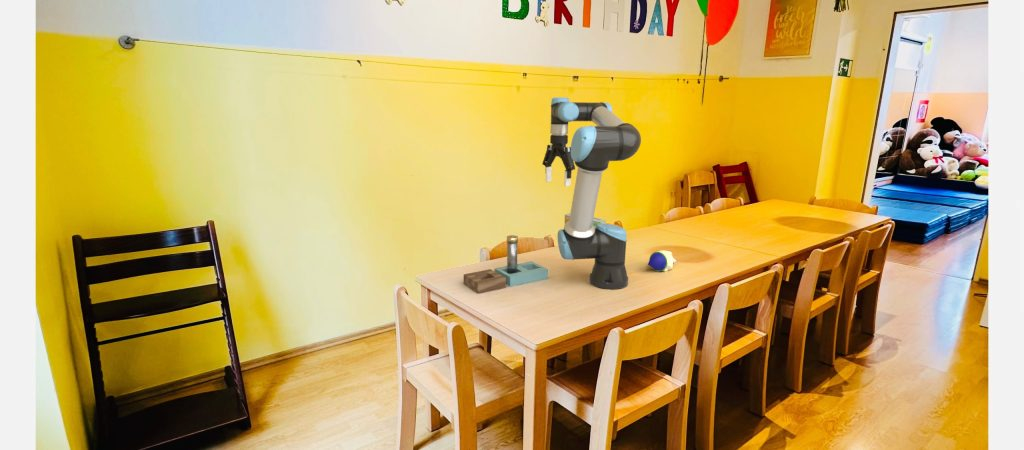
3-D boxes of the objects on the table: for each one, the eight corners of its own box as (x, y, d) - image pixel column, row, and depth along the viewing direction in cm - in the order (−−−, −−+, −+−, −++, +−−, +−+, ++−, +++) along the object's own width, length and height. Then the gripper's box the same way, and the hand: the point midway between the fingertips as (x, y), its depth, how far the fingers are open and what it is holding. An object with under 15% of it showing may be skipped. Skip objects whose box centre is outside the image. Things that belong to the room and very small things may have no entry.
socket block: (505, 287, 191) (505, 277, 190) (478, 293, 185) (478, 283, 184) (490, 278, 201) (490, 269, 200) (463, 283, 195) (463, 274, 194)
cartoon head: (676, 272, 219) (651, 281, 206) (660, 257, 224) (635, 264, 211) (687, 258, 214) (662, 266, 201) (671, 243, 219) (646, 250, 206)
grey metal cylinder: (519, 280, 199) (520, 237, 195) (510, 282, 197) (510, 238, 193) (513, 277, 203) (514, 234, 198) (504, 279, 200) (504, 236, 196)
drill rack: (548, 278, 202) (548, 269, 201) (510, 286, 192) (510, 277, 192) (531, 270, 212) (531, 261, 211) (494, 277, 202) (494, 268, 201)
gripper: (584, 136, 205) (582, 187, 210) (549, 132, 225) (547, 179, 231) (570, 136, 201) (568, 188, 206) (535, 133, 222) (534, 180, 227)
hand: (557, 183), depth 218 cm, fingers open, 13 cm apart
